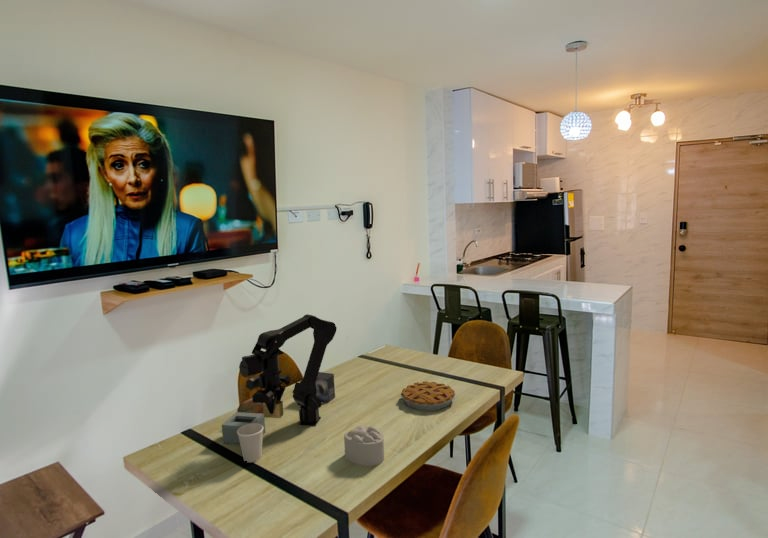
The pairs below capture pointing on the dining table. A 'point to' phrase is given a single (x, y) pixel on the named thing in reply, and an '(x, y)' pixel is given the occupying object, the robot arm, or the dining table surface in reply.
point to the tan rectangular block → (277, 411)
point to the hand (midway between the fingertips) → (273, 411)
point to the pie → (428, 396)
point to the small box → (325, 387)
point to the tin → (250, 407)
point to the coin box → (239, 425)
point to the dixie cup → (251, 441)
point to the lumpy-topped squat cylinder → (364, 446)
